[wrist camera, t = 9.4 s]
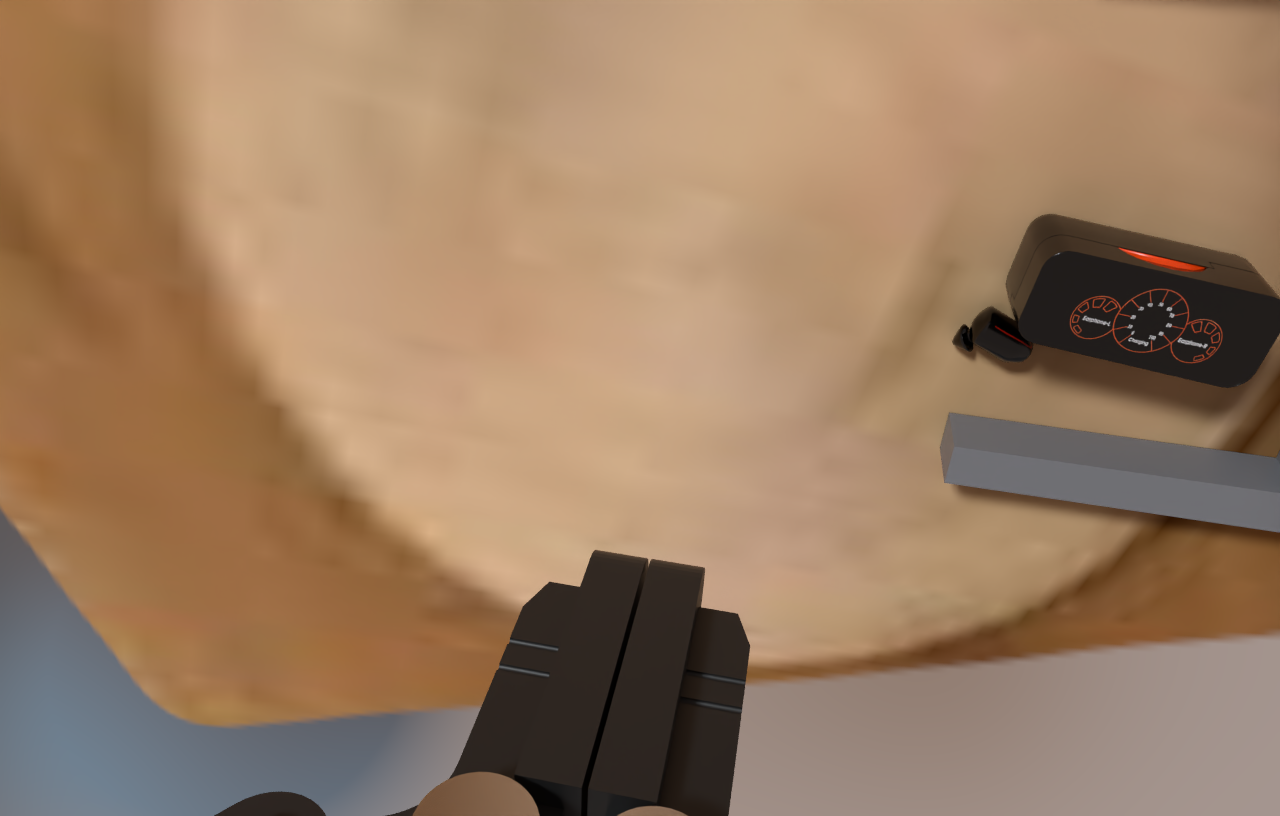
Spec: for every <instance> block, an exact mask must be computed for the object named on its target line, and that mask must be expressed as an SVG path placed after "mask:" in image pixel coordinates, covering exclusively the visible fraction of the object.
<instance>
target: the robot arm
mask: <svg viewBox="0 0 1280 816" xmlns="http://www.w3.org/2000/svg"><path fill="white" fill-rule="evenodd" d="M704 575H705V568H703V567H697V566H691V565H685V564H679V563H673V562H667V561H661V560H655V559H652V560H651V561H650V564H649V567H648V559H647V558H641V557H635V556H629V555H623V554H617V553H611V552H605V551H599V550H595V551H594V552H593V553H592V555H591V558H590V561H589V564H588V566H587V569H586V572H585V575H584V578H583V581H582V583H581V586H580V587H577V586H571V585H565V584H559V583H554V582H549V583H548V584H547V585H545V586H544V587H543V588H542V589H541V590H540V591H539V592H538V593H537V594H536V595H535V596H534V597H533V598H532V599H531V600H529V601H528V602H527V603H526V604H525V605H524V606H523V608H522V610H521V613H520V615H519V617H518V620H517V622H516V625H515V627H514V630H513V632H512V634H511V637H510V642H509V644H507V646H506V649H505V651H504V654H503V656H502V659H501V661H500V665H499V669H498V670H497V671H496V673H495V675H494V678H493V680H492V683H491V685H490V688H489V690H488V692H487V695H486V697H485V700H484V702H483V704H482V707H481V709H480V712H479V714H478V717H477V719H476V721H475V724H474V727H473V729H472V731H471V734H470V736H469V739H468V741H467V743H466V746H465V748H464V750H463V753H462V755H461V758H460V760H459V762H458V764H457V766H456V768H455V771H454V772H453V774H452V775H451V777H450V778H449V779H448V780H446V781H445V782H443V783H441V784H440V785H438V786H436V787H435V788H434V789H433V790H432V791H430V792H429V793H428V794H427V795H426V796H425V797H424V799H423V800H422V801H421V802H420V804H419V805H417V806H415V807H413V808H410V809H408V810H406V811H402V812H400V813H396V814H392V815H387V816H728V814H729V807H730V799H731V791H732V782H733V776H734V767H735V760H736V752H737V744H738V737H739V736H738V735H739V729H740V721H741V713H742V704H743V697H744V690H745V682H746V674H747V666H748V659H749V651H750V644H749V642H748V639H747V637H746V634H745V631H744V629H743V626H742V623H741V621H740V618H739V615H738V614H736V613H730V612H725V611H719V610H713V609H707V608H701V602H702V593H703V585H704ZM215 816H326V815H325V813H324V812H323V810H322V809H321V808H320V807H319V806H318V805H317V804H316V803H315V802H313V801H312V800H311V799H308V798H306V797H304V796H302V795H299V794H295V793H291V792H269V793H263V794H259V795H255V796H253V797H249V798H247V799H244V800H242V801H240V802H238V803H236V804H234V805H232V806H231V807H229V808H227V809H225V810H224V811H222V812H220V813H218V814H216V815H215Z"/></svg>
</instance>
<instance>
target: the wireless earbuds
mask: <svg viewBox="0 0 1280 816" xmlns="http://www.w3.org/2000/svg"><path fill="white" fill-rule="evenodd" d="M1006 291H1007V294H1008V297H1009V300H1010V304H1011V307H1012V310H1013V313H1014V316H1015V320H1016V321H1015V320H1013V319H1012V318H1010V317H1008V316H1007V315H1005V314H1004V313H1002V312H1000V311H999V310H997V309H995V308H994V307H987V308H986V309H984V310H983V311H981V312H980V313H979V314H978V315H977V316H976V317H975V319H974V320H973V322H972V325H971V327H970V329H969V328H968V326H966V325H965V324H963V325H962V326H961V327H960V329H959V330H958V332H957V333H956V335H955V336H954V338H953V341H952V342H953V345H955V346H956V347H959V348H961V349H963V350H966V351H969V352H971V351H972V350H973V344H975V345H977V346H978V347H980V348H982V349H983V350H985V351H987V352H988V353H990V354H991V355H993V356H995V357H996V358H998V359H999V360H1001V361H1003V362H1014V363H1019V362H1023V361H1024V360H1025V359H1027V358H1028V357H1029V356H1030V354H1031V352H1032V349H1033V343H1036V344H1040V345H1044V346H1048V347H1053V348H1057V349H1061V350H1065V351H1070V352H1074V353H1078V354H1082V355H1087V356H1091V357H1095V358H1099V359H1104V360H1108V361H1112V362H1116V363H1121V364H1125V365H1129V366H1133V367H1138V368H1142V369H1146V370H1150V371H1155V372H1159V373H1163V374H1167V375H1172V376H1176V377H1180V378H1184V379H1189V380H1193V381H1197V382H1201V383H1206V384H1210V385H1214V386H1218V387H1226V388H1229V387H1235V386H1238V385H1241V384H1243V383H1245V382H1246V381H1248V380H1249V379H1251V377H1252V376H1253V375H1254V374H1255V373H1256V371H1257V369H1258V368H1259V366H1260V365H1261V363H1262V361H1263V360H1264V358H1265V356H1266V355H1267V353H1268V352H1269V350H1270V348H1271V347H1272V345H1273V343H1274V342H1275V340H1276V339H1277V337H1278V335H1279V334H1280V297H1279V296H1278V295H1277V294H1276V292H1275V291H1274V290H1273V289H1272V288H1271V287H1270V285H1269V284H1268V283H1267V282H1266V281H1265V280H1264V278H1263V277H1262V276H1261V275H1260V274H1259V273H1258V272H1257V270H1256V269H1255V268H1254V267H1253V266H1252V265H1251V264H1250V263H1249V262H1248V261H1247V260H1246V259H1244V258H1242V257H1240V256H1237V255H1233V254H1229V253H1224V252H1220V251H1216V250H1211V249H1207V248H1202V247H1198V246H1193V245H1189V244H1185V243H1180V242H1176V241H1171V240H1167V239H1162V238H1158V237H1154V236H1149V235H1145V234H1140V233H1136V232H1131V231H1127V230H1123V229H1118V228H1114V227H1109V226H1105V225H1100V224H1096V223H1092V222H1087V221H1083V220H1078V219H1074V218H1069V217H1065V216H1061V215H1056V214H1047V215H1042V216H1040V217H1038V218H1036V219H1035V220H1034V221H1033V222H1031V224H1030V225H1029V227H1028V228H1027V230H1026V233H1025V235H1024V237H1023V240H1022V242H1021V245H1020V247H1019V249H1018V252H1017V254H1016V257H1015V259H1014V261H1013V264H1012V266H1011V269H1010V271H1009V273H1008V276H1007V280H1006Z"/></svg>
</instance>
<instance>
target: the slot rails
mask: <svg viewBox="0 0 1280 816" xmlns="http://www.w3.org/2000/svg"><path fill="white" fill-rule="evenodd" d="M940 452H941V460H942V468H943V476H944V483H949V484H956V485H963V486H969V487H976V488H983V489H990V490H996V491H1003V492H1010V493H1017V494H1023V495H1030V496H1037V497H1044V498H1050V499H1057V500H1064V501H1071V502H1078V503H1084V504H1091V505H1098V506H1105V507H1111V508H1118V509H1125V510H1132V511H1138V512H1145V513H1152V514H1159V515H1165V516H1172V517H1179V518H1186V519H1192V520H1199V521H1206V522H1213V523H1219V524H1226V525H1233V526H1240V527H1246V528H1253V529H1260V530H1267V531H1273V532H1280V451H1279V453H1278V455H1277V457H1276V458H1273V457H1266V456H1258V455H1251V454H1244V453H1237V452H1230V451H1222V450H1215V449H1208V448H1201V447H1193V446H1186V445H1179V444H1172V443H1165V442H1157V441H1150V440H1143V439H1136V438H1128V437H1121V436H1114V435H1107V434H1099V433H1092V432H1085V431H1078V430H1071V429H1063V428H1056V427H1049V426H1042V425H1034V424H1027V423H1020V422H1013V421H1006V420H998V419H991V418H984V417H977V416H969V415H962V414H955V413H949V415H948V419H947V423H946V427H945V430H944V434H943V438H942V442H941V446H940Z"/></svg>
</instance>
